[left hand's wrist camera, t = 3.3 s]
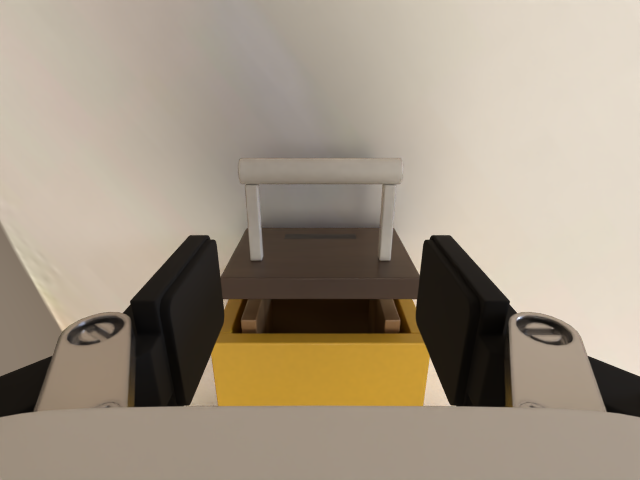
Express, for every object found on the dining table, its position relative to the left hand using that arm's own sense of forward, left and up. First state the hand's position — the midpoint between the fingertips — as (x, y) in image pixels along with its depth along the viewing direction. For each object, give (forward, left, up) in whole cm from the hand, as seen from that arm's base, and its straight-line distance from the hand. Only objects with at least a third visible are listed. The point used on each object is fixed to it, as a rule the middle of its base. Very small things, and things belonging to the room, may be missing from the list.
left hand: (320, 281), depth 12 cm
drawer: (+6, -6, -13) cm, 15 cm away
